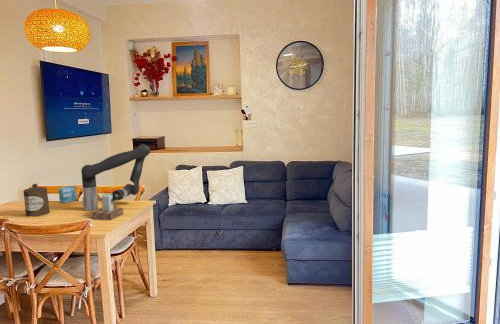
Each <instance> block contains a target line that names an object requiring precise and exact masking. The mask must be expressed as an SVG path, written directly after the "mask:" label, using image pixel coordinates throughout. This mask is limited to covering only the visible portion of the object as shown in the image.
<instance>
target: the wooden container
mask: <svg viewBox="0 0 500 324" xmlns="http://www.w3.org/2000/svg"><path fill="white" fill-rule="evenodd" d="M31 186H32V187H29V188H26V189H24V190H23V191H22V192H23V198H24V199H23V200H24V209H25V216H26V217H29V216H35V217H41V216H45V215H48V214H49V213H50V203H49V196H48V195H49V194H48V189H47V187H45V186H44V187H43V186H38V184H37V183H33V184H32V185H31Z"/></svg>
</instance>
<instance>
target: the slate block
mask: <svg viewBox="0 0 500 324" xmlns="http://www.w3.org/2000/svg"><path fill="white" fill-rule="evenodd" d="M101 198H102V201H101V204H102V205H101V206H102V208H103V211H111V210H113V208H114V201H112V198H113V197H112V195H110V194H108V195H106V194H104V196H103V195H102V196H101Z"/></svg>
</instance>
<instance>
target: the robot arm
mask: <svg viewBox="0 0 500 324" xmlns="http://www.w3.org/2000/svg"><path fill="white" fill-rule="evenodd" d="M150 153H151V147H149V146H148V144H147V145H146V144H144V143H143V144H139V145H138V147H136V148H134V149H132V150H127V151H124V152H119V153H117V154H113V155H111V156H108V157H107V158H104V159H103V160H101V161H100V162H97V163H94V164H85V165H83V166H82V167H81V169H80V170H81V182H82V194H83V196H82V207H83V208H82V210H83V211H88V212H90V211H97V210H99V204H98V203H99V202H98V201H99V200H98V193H97V189H98V188H97V179H96V176H98V175H99V174H101V173H103V172H106V171H110V170H113V169H116V168H118V167H122V166H124V165H126V164H128V163H130V162H132V161H134V165H133V167H132V171H131V173H130V177H129V181H130V182H132V183H133V184H131V183H126V185H125V186H124V187H122V188H118V189H116V190H114V191H112V193H110V194H107V193H106V194H104V195H112V197H113V198H112V201H113V202H115V201H118V202H119V201H121V200H123V199H125V198H126V197H129V196H130V195H132V196H136V195H137V194H138V193H139V191H140V179H141V176H142V172H143V171H142V170H143V165H144V161H145V158H146V157H147V156H149V155H150ZM104 195H102V196H104ZM100 201H101V202H102V197H101V198H100Z"/></svg>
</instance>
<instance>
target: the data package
mask: <svg viewBox="0 0 500 324" xmlns="http://www.w3.org/2000/svg"><path fill="white" fill-rule="evenodd" d="M58 198H59V202H60V203H61V204H66V203H70V202H74V201H76V199H77V195H76V187H75V186H74V185H68V186H64V187H60V188H58Z"/></svg>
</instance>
